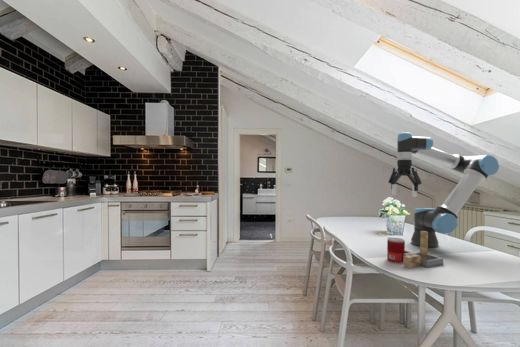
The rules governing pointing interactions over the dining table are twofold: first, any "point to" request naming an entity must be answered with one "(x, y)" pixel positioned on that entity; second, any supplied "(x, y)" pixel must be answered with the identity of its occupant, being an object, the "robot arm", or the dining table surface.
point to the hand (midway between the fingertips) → (404, 196)
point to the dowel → (424, 245)
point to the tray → (429, 260)
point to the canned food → (395, 250)
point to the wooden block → (411, 261)
